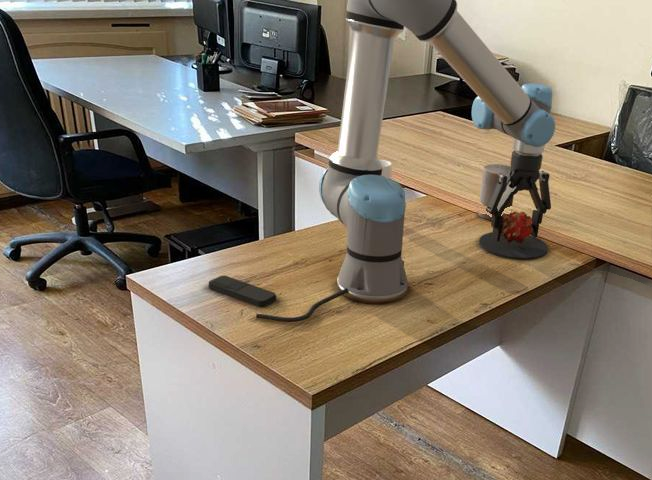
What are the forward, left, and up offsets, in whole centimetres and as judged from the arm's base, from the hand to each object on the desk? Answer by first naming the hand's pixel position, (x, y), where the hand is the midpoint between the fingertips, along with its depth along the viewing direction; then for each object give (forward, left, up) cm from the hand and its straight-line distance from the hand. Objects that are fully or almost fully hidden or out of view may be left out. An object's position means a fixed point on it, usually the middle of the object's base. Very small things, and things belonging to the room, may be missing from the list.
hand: (514, 237), depth 180 cm
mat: (0, 0, -2) cm, 2 cm away
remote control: (-72, -9, -3) cm, 73 cm away
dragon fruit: (0, 0, -1) cm, 1 cm away
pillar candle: (+7, +22, -3) cm, 23 cm away
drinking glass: (-27, +28, -3) cm, 39 cm away
